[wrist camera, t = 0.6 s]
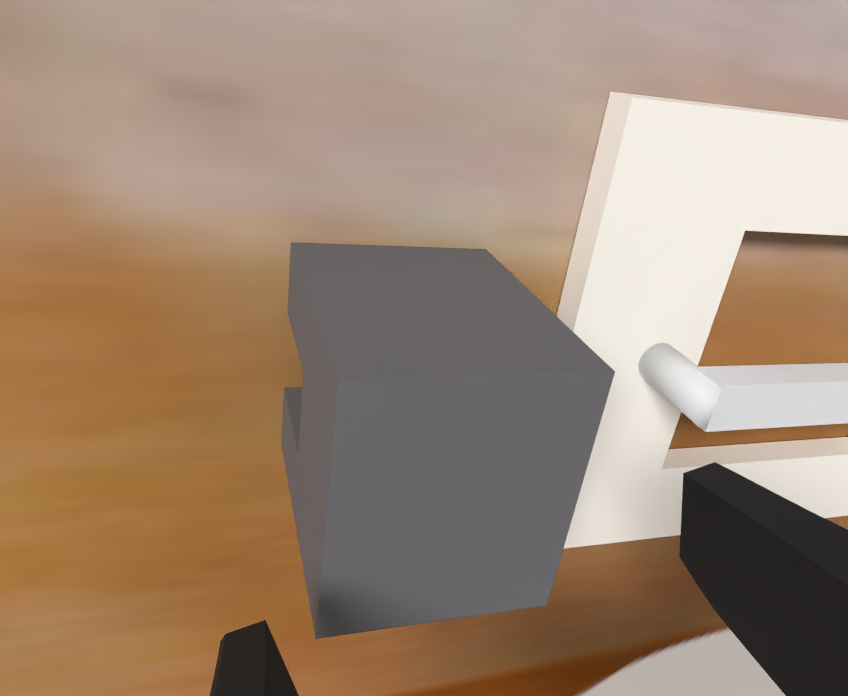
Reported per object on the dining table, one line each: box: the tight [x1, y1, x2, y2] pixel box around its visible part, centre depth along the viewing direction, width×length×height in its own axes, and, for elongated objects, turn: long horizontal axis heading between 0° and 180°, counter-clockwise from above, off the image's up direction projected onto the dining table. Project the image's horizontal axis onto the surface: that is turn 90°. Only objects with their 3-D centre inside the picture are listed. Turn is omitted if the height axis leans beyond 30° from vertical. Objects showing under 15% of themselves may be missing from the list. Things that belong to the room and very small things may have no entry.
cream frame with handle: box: [557, 91, 848, 549], centre depth 21 cm, size 18×14×4 cm
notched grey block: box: [282, 243, 615, 639], centre depth 15 cm, size 6×5×6 cm
